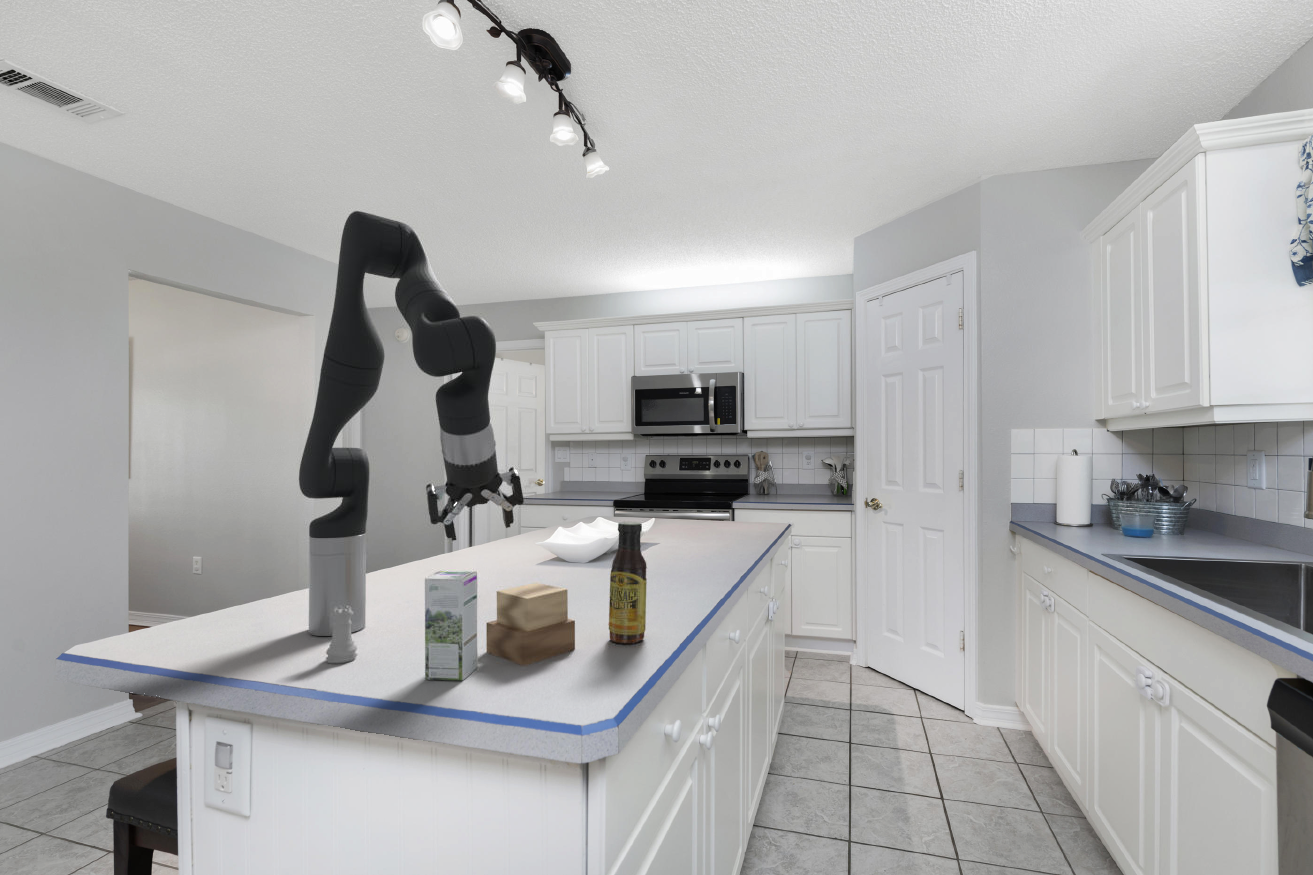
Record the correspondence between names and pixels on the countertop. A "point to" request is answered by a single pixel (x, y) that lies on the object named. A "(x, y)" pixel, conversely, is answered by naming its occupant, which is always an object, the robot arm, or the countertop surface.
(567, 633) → the lower block
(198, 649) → the countertop surface
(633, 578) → the sauce bottle
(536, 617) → the upper block
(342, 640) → the rook chess piece
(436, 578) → the syrup box
